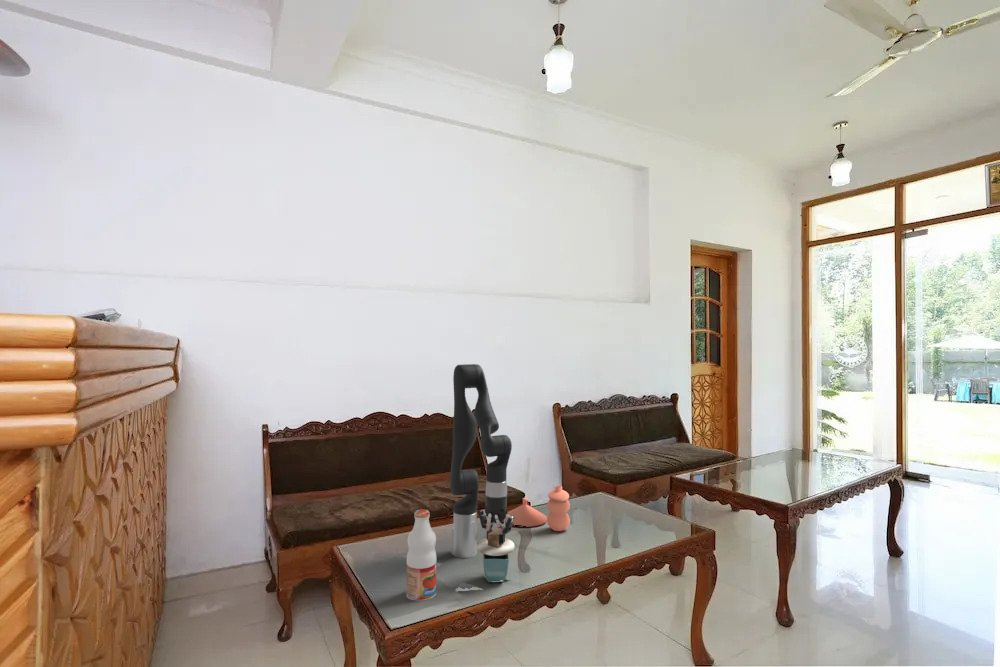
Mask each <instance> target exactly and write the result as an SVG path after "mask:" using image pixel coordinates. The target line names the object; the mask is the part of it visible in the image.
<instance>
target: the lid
mask: <svg viewBox="0 0 1000 667" xmlns="http://www.w3.org/2000/svg"><path fill="white" fill-rule="evenodd" d="M492 530H493V531H492V532H490V533H488V540H487V537H486V538H483V539H480V540H479V541H477V551H478V552H479V553H481V554H486V555H491V556H501V555H506V554H508V555H509V554H511V553H512V552H514V550H515V543H514V542H513V540H511V539H509V538H506V537H505V542H504V543H503V544H502V545H499V534H500V533H499V530H495V529H492Z"/></svg>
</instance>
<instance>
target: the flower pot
mask: <svg viewBox="0 0 1000 667" xmlns="http://www.w3.org/2000/svg"><path fill="white" fill-rule="evenodd" d="M482 554H483V553H482ZM482 561H483V573H484V576H485V579H486V581H487V583H490V582H491V581H500V580H504V581H505V580H506V578H507V575H508V570H509V563H510V555H509V554H506V555H501V556H491V555H486V554H483V559H482Z"/></svg>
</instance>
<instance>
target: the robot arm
mask: <svg viewBox="0 0 1000 667" xmlns="http://www.w3.org/2000/svg"><path fill="white" fill-rule="evenodd" d="M452 380H453V403H454V404H453V408H454V409H453V422H452V424H453V425H452V452H451V454H452V456H451V466H450V474H449V475H450V476H449V489H450V492H451V494H452V495H453V496H462V495H463V496H464V497H463V498H461V499H460V500H457V501H456V502H455V503H454V504H453V528H452V529H453V530H451V531H450V532H451V533H450V534H451V535H450V538H451V539H450V544H451V545H450V555H453V557H456V558H459V559H467V558H472V557H475V556H477V553H478V552H477V551H478V550H477V543H478V518H479V521H480V525H481V528H482V529H485V531H486V538H487V540H488V533H490V532H492V531H493V530H494V529H493V527H494V524H496V527H497V528H498V531H499V533H500V534H499V545H502V544H503V543H504V542H505V538H506V534H508V533H509V532H511V530H512V527H513V525H512V524H513V521H514V516H510V515H508V510H507V507H508V484H507V467H508V465H509V460H510V458H511V457H510V456H511V453H512V449H513V448H512V447H513V444H512V440H511V439H510V437H509V436H508V435H507V434H500V435H499V434H498V435H497V434H496V435H492V434H495V433H497V431H498V430H499V428H500V424H499V421H498V418H497V417H496V414H495V412H494V409H493V406H492V403H491V402H492V401H491V398H490V394H489V388H488V384H487V380H486V375H485V372H484V369H483V368H482V366H481V365H480V364H478V363H476V364H475V363H473V364H472V363H470V364H465V363H464V364H457V365H455V367H454V370H453V379H452ZM466 389H475V390H476V391H477V399H476V404H475V407H474V412H473V411H472V410H471V408H470V406H469V404H468V402H467V398H466ZM477 425H478V426H477ZM477 428H478V429H479V433H480V446H481V447H480V448H481V451H482V453H483V454H484V456H486V457H487V458H488V457H489V458H494V457H496V459H495V460H493V461H491V462H489V463H487V465H486V472H485V474H486V475H485V477H486V478H485V480H486V481H485V494H484V495H485V497H484V498H485V500H484V502H485V503H484V504H485V509H484V508H483V509H480V510H479V511H478V504H479V485H480V484H479V482H480V480H479V474H478V472H477V471H476V469H472V468H469V469H462V468H463V463H464V461H465V458H466V456H467V455H468V453H469V452H470V450H471V449H472V447H473V446H474V444H475V441H476V440H477ZM505 518H506V522H507V523H506V522H505V520H504V519H505Z"/></svg>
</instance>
